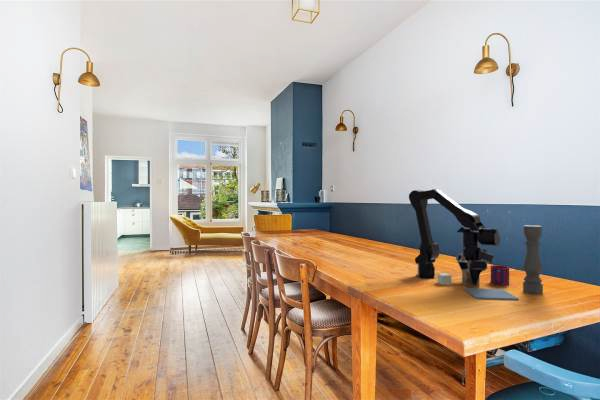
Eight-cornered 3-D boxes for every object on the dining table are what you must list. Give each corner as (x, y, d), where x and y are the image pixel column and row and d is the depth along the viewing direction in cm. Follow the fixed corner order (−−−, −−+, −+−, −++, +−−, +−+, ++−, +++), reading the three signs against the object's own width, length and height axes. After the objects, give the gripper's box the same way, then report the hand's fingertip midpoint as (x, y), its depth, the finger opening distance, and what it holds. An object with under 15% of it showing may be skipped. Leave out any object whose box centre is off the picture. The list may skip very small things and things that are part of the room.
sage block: (441, 285, 140) (441, 275, 140) (437, 282, 144) (437, 273, 144) (451, 285, 140) (451, 275, 140) (446, 282, 144) (446, 273, 144)
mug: (510, 282, 142) (510, 266, 142) (505, 287, 135) (505, 270, 135) (493, 280, 147) (492, 264, 147) (486, 284, 139) (486, 268, 139)
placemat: (475, 298, 120) (475, 297, 120) (464, 289, 132) (464, 288, 132) (518, 300, 118) (518, 298, 118) (503, 290, 130) (503, 289, 130)
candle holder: (539, 290, 130) (539, 225, 130) (545, 295, 124) (545, 226, 124) (520, 289, 132) (520, 225, 132) (525, 293, 126) (525, 226, 126)
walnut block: (466, 286, 137) (466, 271, 137) (462, 283, 142) (462, 269, 142) (479, 286, 137) (479, 271, 136) (474, 283, 141) (474, 269, 141)
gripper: (501, 247, 129) (501, 288, 129) (482, 241, 147) (482, 277, 147) (470, 247, 130) (470, 287, 131) (455, 240, 149) (455, 276, 149)
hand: (470, 281), depth 139 cm, fingers open, 9 cm apart
